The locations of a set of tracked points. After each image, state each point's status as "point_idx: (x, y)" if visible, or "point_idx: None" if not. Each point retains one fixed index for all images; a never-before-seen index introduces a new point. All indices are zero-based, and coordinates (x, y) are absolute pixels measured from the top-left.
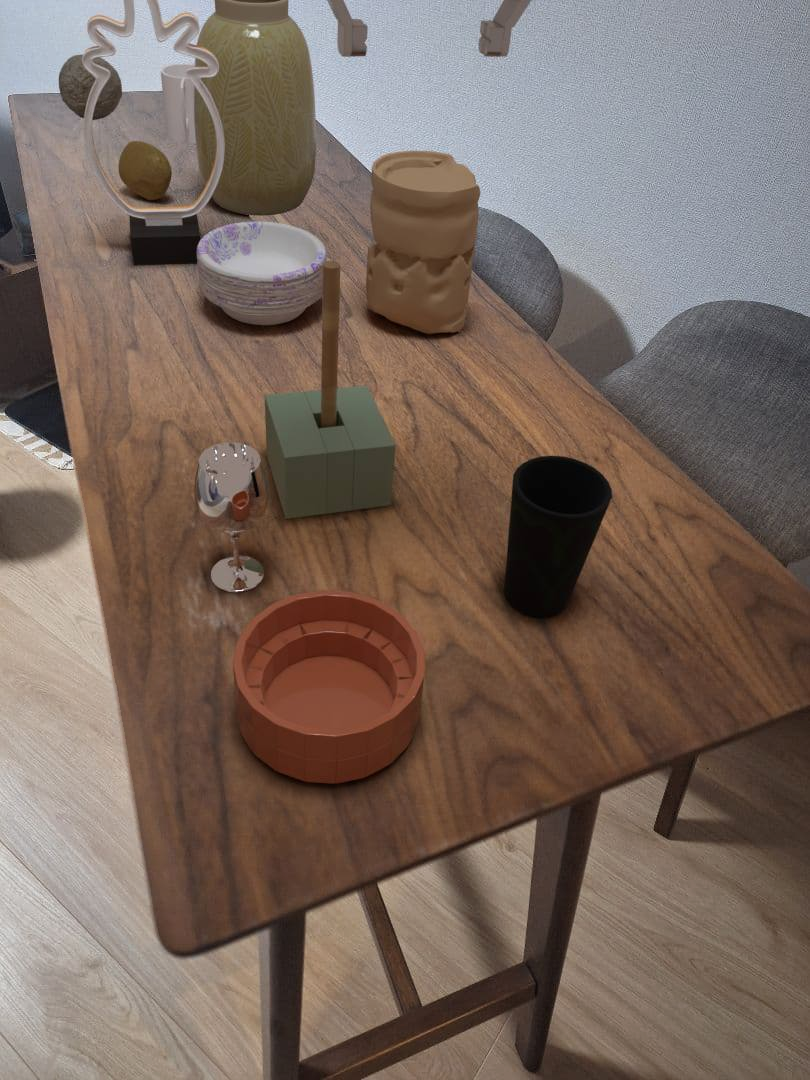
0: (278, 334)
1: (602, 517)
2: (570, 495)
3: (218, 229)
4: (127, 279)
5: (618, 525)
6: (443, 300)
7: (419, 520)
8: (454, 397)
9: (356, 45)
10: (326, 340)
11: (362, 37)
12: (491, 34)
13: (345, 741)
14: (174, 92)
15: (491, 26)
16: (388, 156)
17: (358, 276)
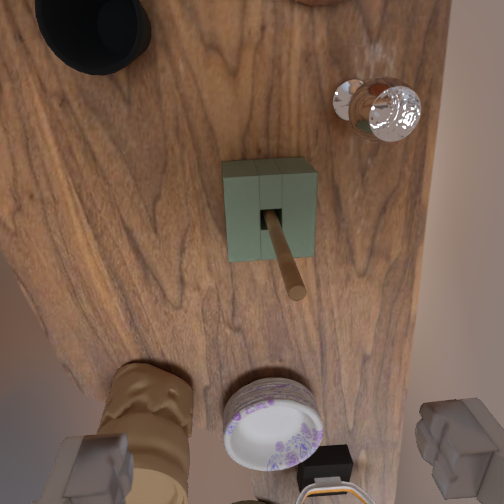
0: (263, 368)
1: None
2: (77, 52)
3: (302, 460)
4: (354, 429)
5: (28, 106)
6: (134, 382)
7: (202, 140)
8: (142, 287)
9: (461, 414)
10: (288, 248)
11: (457, 430)
12: (106, 474)
13: None
14: None
15: (102, 500)
16: None
17: None
